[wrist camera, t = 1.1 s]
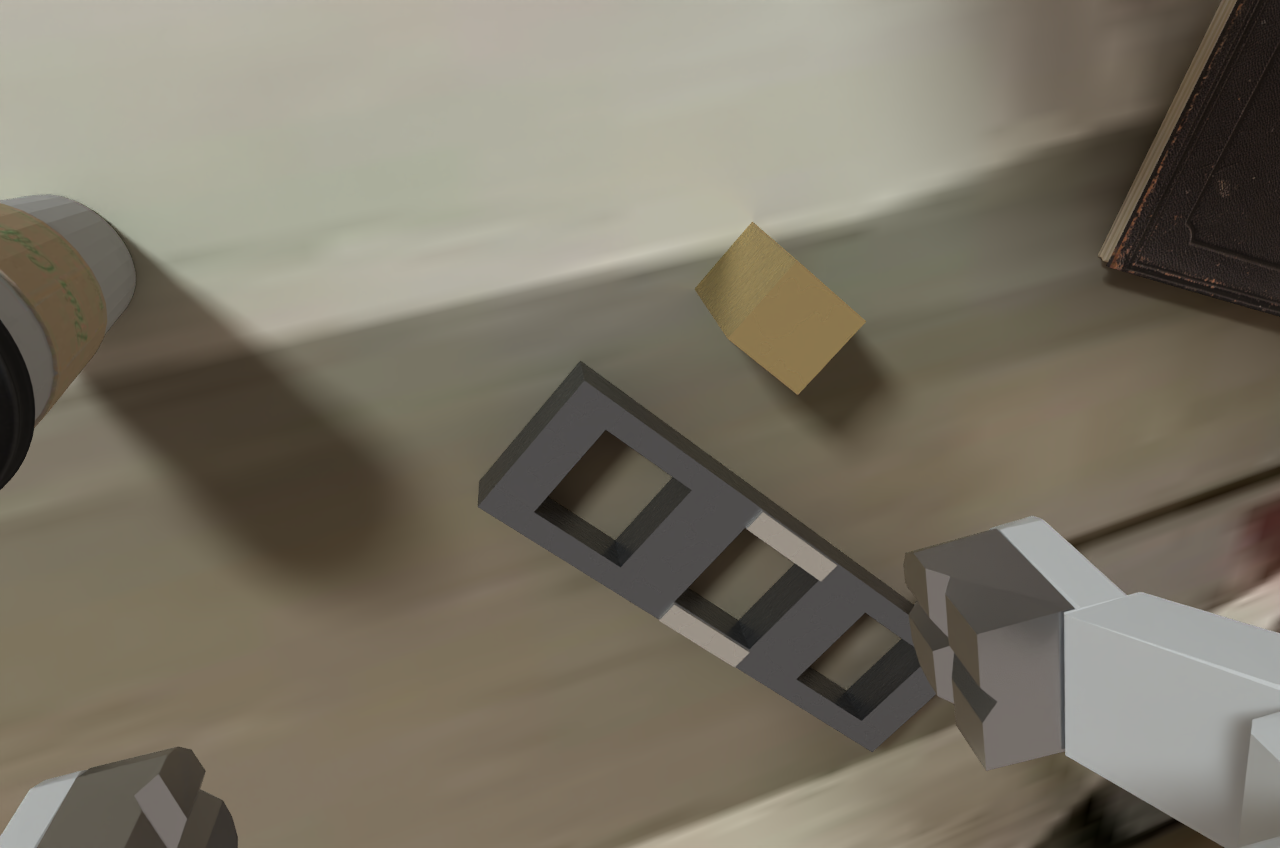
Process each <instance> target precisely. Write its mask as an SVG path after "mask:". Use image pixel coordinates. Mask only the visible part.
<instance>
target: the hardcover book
mask: <svg viewBox="0 0 1280 848" xmlns="http://www.w3.org/2000/svg"><path fill="white" fill-rule="evenodd" d="M1098 257H1101V258H1102V260H1103V261H1105V262H1108V263H1107V265H1106V266H1107V267H1110V268H1113V269H1117V270H1120V271H1124V272H1127V273H1131V274H1134V275H1137V276H1141V277H1144V278H1148V279H1151V280H1155V281H1158V282H1162V283H1165V284H1169V285H1172V286H1176V287H1179V288H1182V289H1186V290H1189V291H1193V292H1196V293H1200V294H1203V295H1207V296H1210V297H1214V298H1217V299H1221V300H1224V301H1228V302H1231V303H1234V304H1238V305H1241V306H1245V307H1248V308H1252V309H1255V310H1259V311H1262V312H1266V313H1269V314H1273V315H1276V316H1279V317H1280V0H1222V1H1221V3H1220V5H1219V7H1218V9H1217V11H1216V13H1215V15H1214V17H1213V19H1212V21H1211V23H1210V26H1209V28H1208V30H1207V32H1206V34H1205V36H1204V38H1203V40H1202V42H1201V44H1200V46H1199V48H1198V50H1197V52H1196V54H1195V56H1194V59H1193V61H1192V63H1191V65H1190V67H1189V69H1188V71H1187V73H1186V75H1185V77H1184V79H1183V81H1182V83H1181V85H1180V87H1179V89H1178V91H1177V94H1176V96H1175V98H1174V100H1173V102H1172V104H1171V106H1170V108H1169V110H1168V112H1167V114H1166V116H1165V118H1164V120H1163V122H1162V124H1161V126H1160V129H1159V131H1158V133H1157V135H1156V137H1155V139H1154V141H1153V143H1152V145H1151V147H1150V149H1149V151H1148V153H1147V155H1146V157H1145V159H1144V162H1143V164H1142V166H1141V168H1140V170H1139V172H1138V174H1137V176H1136V178H1135V180H1134V182H1133V184H1132V186H1131V188H1130V190H1129V192H1128V194H1127V197H1126V199H1125V201H1124V203H1123V205H1122V207H1121V209H1120V211H1119V213H1118V215H1117V217H1116V219H1115V221H1114V223H1113V225H1112V227H1111V229H1110V232H1109V234H1108V236H1107V238H1106V240H1105V242H1104V244H1103V246H1102V248H1101V250H1100V252H1099V254H1098Z"/></svg>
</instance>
